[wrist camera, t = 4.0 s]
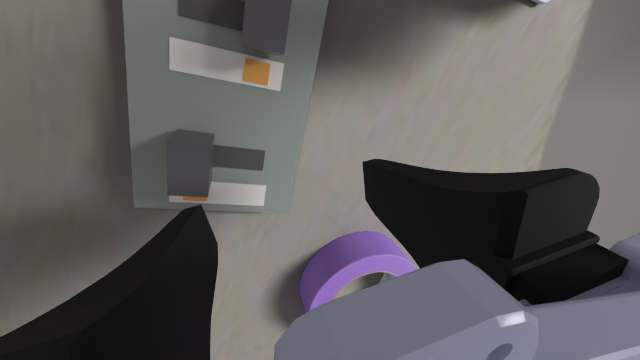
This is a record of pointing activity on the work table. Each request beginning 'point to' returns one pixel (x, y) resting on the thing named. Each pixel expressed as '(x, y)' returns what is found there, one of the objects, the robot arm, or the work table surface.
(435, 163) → the work table surface
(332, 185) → the work table surface
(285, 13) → the slider middle
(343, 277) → the masking tape
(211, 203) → the switch panel
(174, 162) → the block
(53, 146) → the work table surface
